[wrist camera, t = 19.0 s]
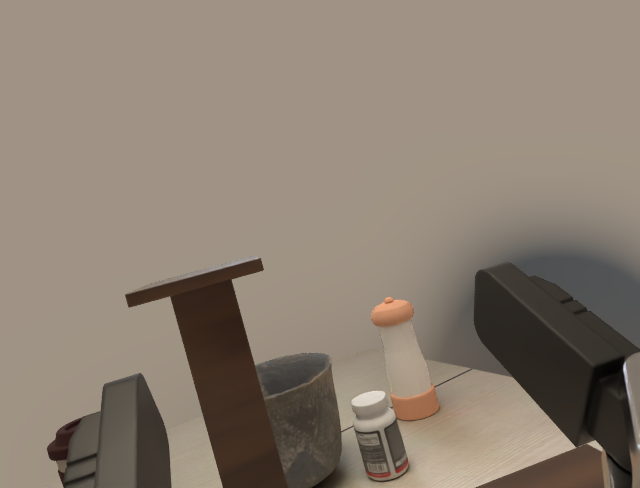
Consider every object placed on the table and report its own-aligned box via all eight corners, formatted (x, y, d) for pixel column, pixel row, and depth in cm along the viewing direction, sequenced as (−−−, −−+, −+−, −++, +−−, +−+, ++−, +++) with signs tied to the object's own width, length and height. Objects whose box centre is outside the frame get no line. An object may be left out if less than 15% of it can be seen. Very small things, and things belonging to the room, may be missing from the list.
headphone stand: (694, 514, 45) (608, 163, 44) (242, 714, 37) (124, 294, 36) (589, 456, 57) (521, 183, 56) (237, 596, 50) (150, 283, 49)
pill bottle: (398, 454, 70) (380, 385, 69) (416, 470, 64) (397, 396, 64) (360, 469, 68) (342, 399, 68) (376, 488, 63) (355, 411, 62)
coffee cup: (81, 518, 76) (54, 423, 75) (149, 493, 78) (122, 401, 78) (65, 556, 66) (33, 446, 66) (142, 526, 69) (112, 420, 68)
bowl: (223, 482, 75) (197, 386, 75) (327, 435, 82) (303, 346, 82) (258, 537, 59) (224, 414, 58) (383, 471, 66) (354, 362, 66)
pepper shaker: (446, 400, 83) (417, 289, 83) (428, 421, 77) (397, 301, 77) (407, 401, 88) (379, 294, 87) (387, 420, 82) (358, 306, 81)
